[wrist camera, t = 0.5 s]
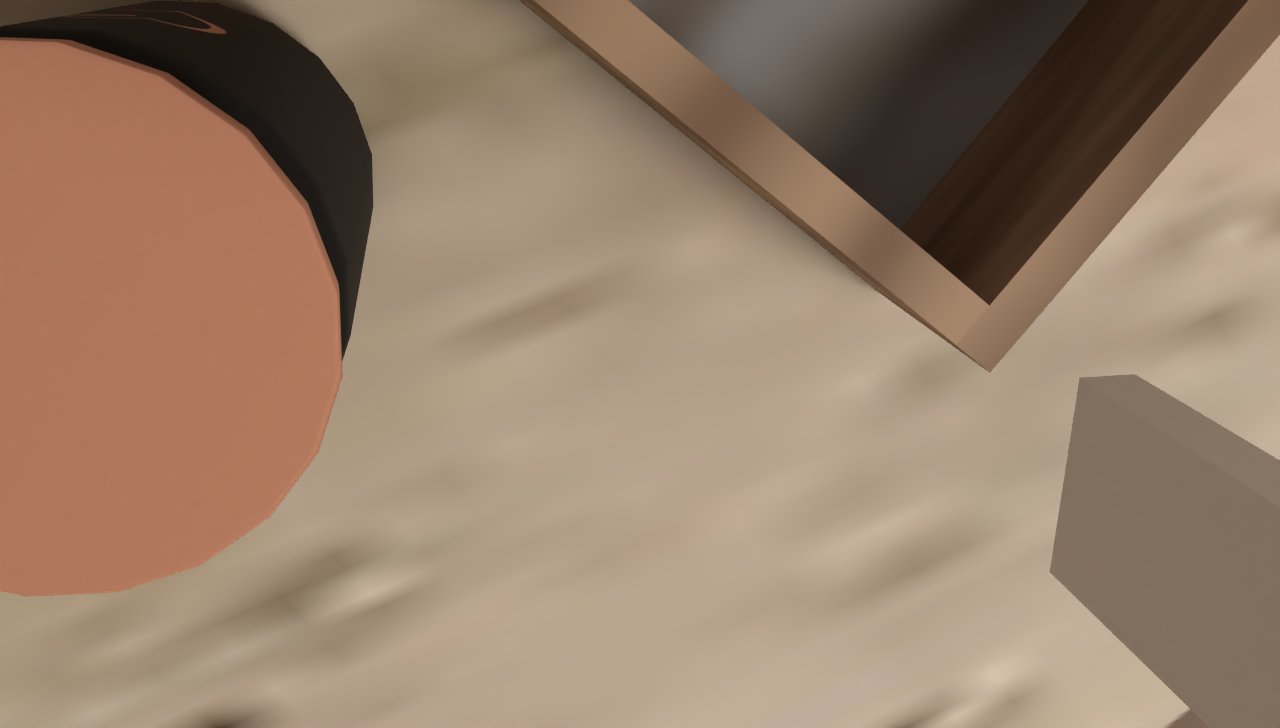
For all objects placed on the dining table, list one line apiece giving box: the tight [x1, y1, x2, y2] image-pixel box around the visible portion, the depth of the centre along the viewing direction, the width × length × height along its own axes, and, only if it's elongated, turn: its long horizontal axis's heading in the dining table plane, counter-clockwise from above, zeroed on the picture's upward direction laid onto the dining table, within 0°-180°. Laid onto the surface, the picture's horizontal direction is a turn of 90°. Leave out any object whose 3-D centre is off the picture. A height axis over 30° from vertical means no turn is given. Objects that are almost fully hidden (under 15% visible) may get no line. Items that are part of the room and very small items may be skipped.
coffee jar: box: [0, 1, 373, 596], centre depth 30 cm, size 11×11×18 cm
